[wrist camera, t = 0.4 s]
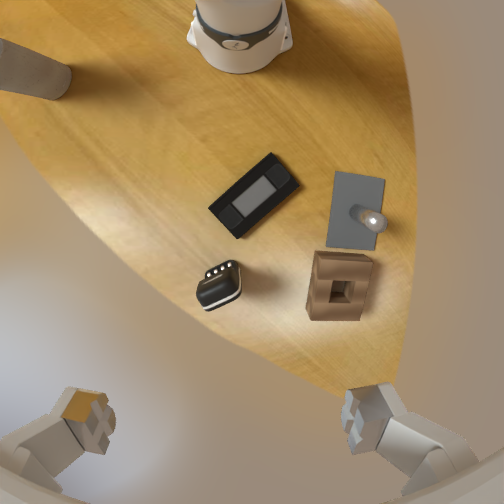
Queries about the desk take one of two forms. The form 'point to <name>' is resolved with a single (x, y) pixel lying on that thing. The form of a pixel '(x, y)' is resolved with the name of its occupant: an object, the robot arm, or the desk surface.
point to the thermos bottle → (31, 72)
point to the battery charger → (220, 286)
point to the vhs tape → (253, 196)
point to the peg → (368, 218)
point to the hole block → (343, 269)
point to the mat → (344, 197)
